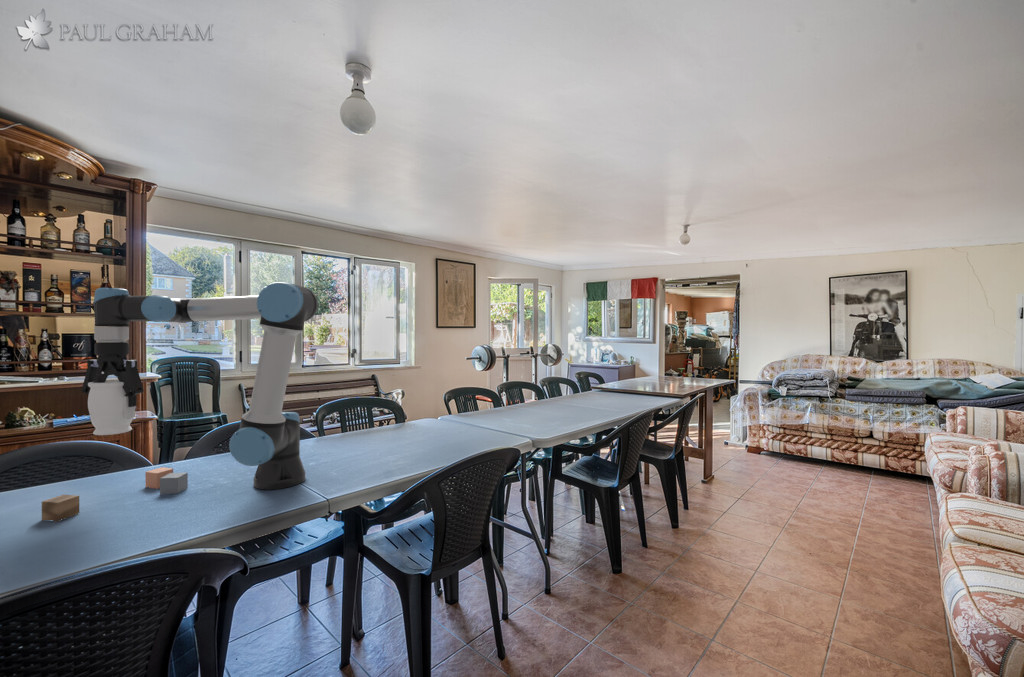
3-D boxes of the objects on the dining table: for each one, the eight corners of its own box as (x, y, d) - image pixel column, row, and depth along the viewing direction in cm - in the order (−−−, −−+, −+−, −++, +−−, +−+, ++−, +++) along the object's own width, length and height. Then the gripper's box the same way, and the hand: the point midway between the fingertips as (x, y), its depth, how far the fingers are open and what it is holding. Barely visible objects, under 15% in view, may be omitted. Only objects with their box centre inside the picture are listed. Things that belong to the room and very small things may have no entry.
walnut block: (79, 513, 120) (79, 495, 120) (58, 521, 115) (58, 502, 115) (63, 512, 121) (63, 494, 120) (41, 520, 116) (41, 501, 116)
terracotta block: (173, 484, 144) (173, 468, 144) (157, 489, 139) (157, 473, 139) (162, 482, 145) (161, 467, 145) (145, 487, 140) (145, 471, 140)
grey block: (187, 488, 140) (187, 472, 140) (178, 493, 135) (178, 477, 135) (170, 489, 139) (170, 473, 139) (160, 494, 134) (159, 478, 134)
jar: (107, 437, 123) (106, 383, 123) (78, 435, 125) (77, 382, 125) (145, 429, 133) (145, 379, 133) (118, 427, 135) (117, 378, 135)
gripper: (159, 341, 131) (159, 416, 132) (91, 341, 134) (91, 414, 134) (134, 342, 124) (135, 421, 124) (63, 341, 126) (64, 419, 127)
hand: (112, 417), depth 129 cm, fingers closed on jar, 10 cm apart
